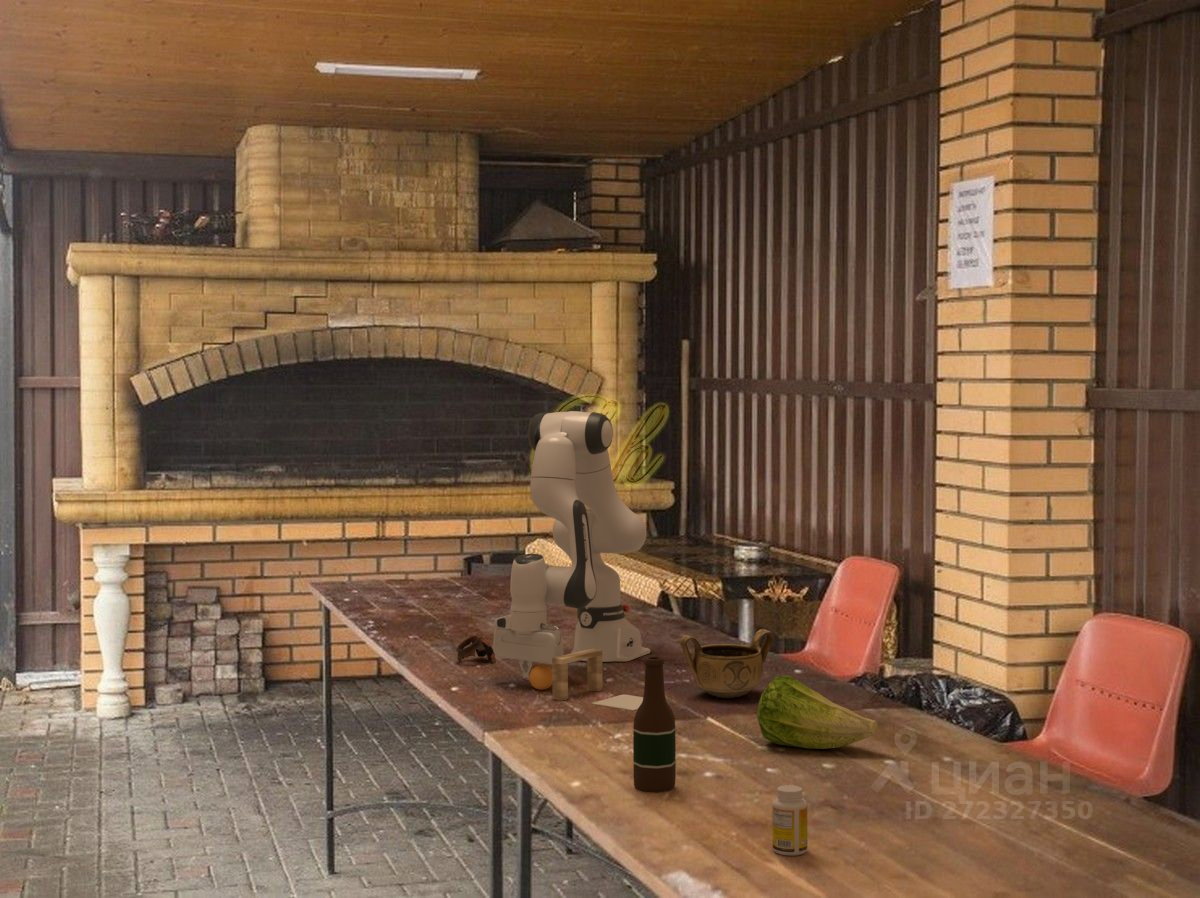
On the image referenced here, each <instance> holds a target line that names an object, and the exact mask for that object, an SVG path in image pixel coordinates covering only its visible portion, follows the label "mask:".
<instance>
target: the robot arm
mask: <svg viewBox="0 0 1200 898" xmlns="http://www.w3.org/2000/svg"><path fill="white" fill-rule="evenodd" d="M613 435H614V429H613V424H612V422H611V420H610V419H609V418H608V416H607V415H606V414H603V413H601V412H600V413H599V412H595V411H593V412H586V411H577V410H568V411H556V412H555V411H554V412H549V411H546V412H540V413H536V414H535V415H534V416H533V417H532V418H531V420H530V421H529V424H528V428H527V438H528V442H529V445H530V447H531V448H532V450H533V451H534V455H533V460H532V466H531V474H530V487H529V489H530V490H529V491H530V493H529V495H530V498H531V501H532V503H533V505H535V507H536V509H538V511H540V512H541V513H543V514H544V515H546V516H548V517H550V518H552V519H554V520H555V521H554V522H553V525H552V537H553V540H554V542H555V544H556V546H558V548H560V549H561V550H562V551H563V552H564V553H565V554H566V555H567V556H568V558H569V559H570V561H571V564H570V566H563V565H562V566H561V565H560V566H559V565H550V564H548V563H546V562H545V560H546V559H545V557H544V556H543V555H542V554H539V553H525V554H521V555H518V556H516V557H515V558H514V559H513V562H512V566H511V571H510V572H511V573H510V583H509V584H510V585H509V586H510V588H509V589H510V591H509V592H510V596H511V605H510V607H509V609H510V610H509V613H510V614H507V615H505V616H501V617H498V618H495V619H494V627H495V630H494V631H493V643H492V645H493V646H492V649H493V651H494V654H495V657H498V658H505V659H512V660H518V665H519V666H520V669H521V671H522V679H523V680H529V675H530V672H531V670H532V669H533V668H534V667H535V666H537V665H539V664H543V665H550V666H552V658H554V657H558V656H563V655H565V653H564V652H565V651H564V644H563V637H562V635H563V634H562V631H561V630H560V628H558V626H557V625H553V624H552V625H550V624H548V608H547V605H550V606H561V607H568V608H573V609H576V616H577V620H578V622H577V623H576V625H575V631H574V632H575V633H574V643H573V649H572V650H571V652H570V654H571V653H576V652H580V651H584V650H589V649H599V650H602V663H603V662H604V663H607V662H630V661H633V660H634V659H638V658H640V657H643V656H645V655H648V654H650V652H651V649H650V648H648V647H645V646H643V645H642V635H641V632H640V630H639V629H638V628H637V627H636V626H634V625H633V624H632V622H630V621H629V620H628V619H626V615H625V612H626V613H630V612H631V609H632V608H631V605H630V604H625V603H624V604H621V578H620V575H619V574H618V572H617V571H616V570H615V569H614V568H612V567H611V566H609V565H608V564H606V563H605V562H604V560H603V559H602V555H601V554H621V555H622V554H629V553H633V552H638V551H640V550H641V548H642V547H643V546H644V544H645V542H646V539H647V527H646V523H645V522H644V520H643V518H642V517H641V516H640V515H638V514H636V513H635V512H634V511H632V510H631V509H630V508H629V507H628V506H627V504H625V503H624V501H623V500H622V499H621V497H620V495H619V493H618V491H617V489H616V486H615V485H616V484H615V481H614V477H613V472H612V466H611V465H612V464H611V459H610V453H609V448H610V447H611V445H612V441H613V437H614V436H613ZM586 507H587V508H588V509H589V510H587V508H586ZM581 661H583V662H587V659H583V660H581ZM529 681H530V680H529Z"/></svg>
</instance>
